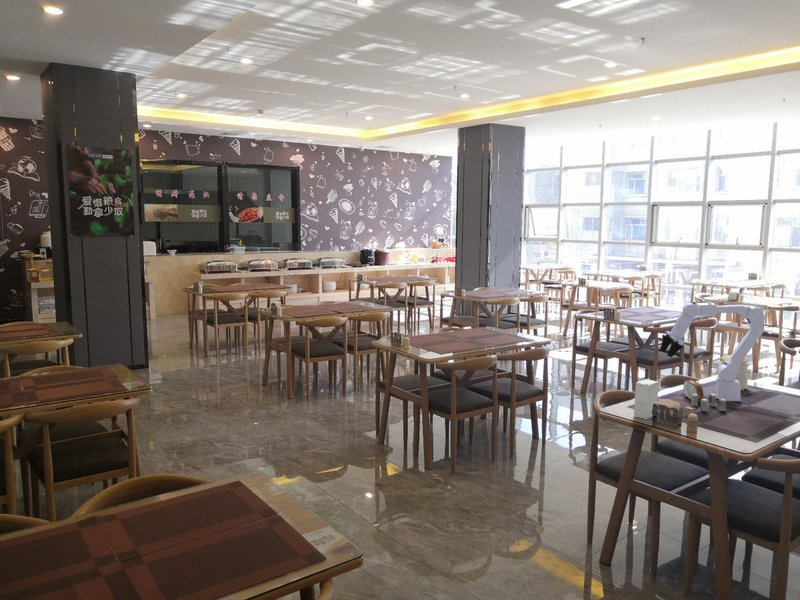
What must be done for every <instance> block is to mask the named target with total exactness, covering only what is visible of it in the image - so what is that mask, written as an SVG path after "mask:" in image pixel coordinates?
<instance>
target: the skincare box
mask: <svg viewBox="0 0 800 600" xmlns="http://www.w3.org/2000/svg"><path fill="white" fill-rule="evenodd" d="M659 383H660V382H659V381H657V380H652V379H648V378H645V379H643V380H638V381H637V382H635V390H634V403H633V405H634V407H633V417H634V416H636V417H635V418H637V417H640V418H639V419H641V418H644V419H648V418H650V419H652V418H653V417H652V409H653V404H654V403H655V402H657V403H658V399H659V398H658V395H659ZM651 417H652V418H651ZM644 419H643V420H644ZM648 420H649V419H648Z"/></svg>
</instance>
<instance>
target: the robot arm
mask: <svg viewBox="0 0 800 600" xmlns="http://www.w3.org/2000/svg"><path fill="white" fill-rule="evenodd" d="M717 314H738V315H740V316H742V317H744V318H745V320H746V321H747V323H748V326H749V329H748V330H747V332H746V333H745V335H743V337H742V338H741V340H740V342H739V343H738V344H737V346H735V348H734V350H733V353H732V352H731V354H729V355H730V357H729V358H727V359H726V360H725V361H724V362H723V363H722V364H719V365H718V366H717V367H716V373H717V377H716V387H715V395H716V398H717V399H725V400H726V402H742V400H741V384H740V382H739V381H738V380H735V377H736V373H737V371H738V369H739V365H740V363H741V362H742V360H743V359H744V358H745V359H746V356H747V355H748V354H749V352H750V351H751V349H752V348H753V347H754V346H755V344H756V342H757V341H758V340H759V339H760V337H762V335H763V333H764V331H765V319H766V315H765V314H764V311H763V310H762V309H761V308H760V307H757V306H756V305H752V304H751V305H750V304H749V305H748V304H729V305H727V304H725V305H716V304H715V303H714V302H711V301H707V302H705V303H704V302H703V303H699V302H695V304H694V303H691V302H688V303H685V304H684V305H683V307H682V312H681V314H680V315H678V317H677V320H676V322H675V323H674V325H673V326H672V328H671V330H670V331H669V330H666V332H665V333H664V334H662V338H661V339H662V340H661V345H660V348H659V350H660V351H661V352H664V353H665V352H666V351H667V349H668V348H669V349H668V352H667V354H666V355H667V356H668V357H670V358H672V357H673V356H674V355H676V354H677V352H679V351H680V350H682V349H684V344H685V341H684V340H683V338H684V337H685V334H686V332H687V331H688V329H689V328H690V326H691V324H692V322H693V320H694V319H695V318H697V316H698V317H714V316H716V315H717ZM718 374H719V376H718ZM717 399H716V400H717Z"/></svg>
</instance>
